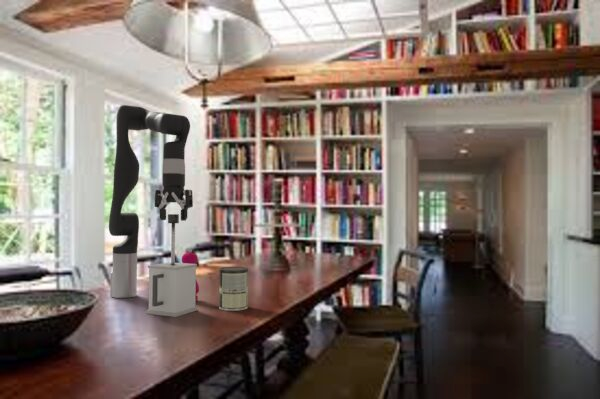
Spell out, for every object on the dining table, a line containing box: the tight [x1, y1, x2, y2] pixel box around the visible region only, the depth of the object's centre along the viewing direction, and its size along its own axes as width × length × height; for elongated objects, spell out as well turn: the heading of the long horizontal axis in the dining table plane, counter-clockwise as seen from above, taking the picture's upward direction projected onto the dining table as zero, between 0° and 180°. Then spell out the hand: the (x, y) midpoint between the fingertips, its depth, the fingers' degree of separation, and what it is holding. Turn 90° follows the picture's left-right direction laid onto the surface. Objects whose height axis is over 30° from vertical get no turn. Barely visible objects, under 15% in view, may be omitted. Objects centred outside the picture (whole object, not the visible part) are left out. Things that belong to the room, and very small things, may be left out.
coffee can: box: [218, 266, 249, 312], centre depth 182 cm, size 10×10×14 cm
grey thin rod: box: [167, 213, 180, 265], centre depth 175 cm, size 9×9×22 cm
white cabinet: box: [146, 261, 198, 318], centre depth 173 cm, size 12×16×16 cm
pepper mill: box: [181, 248, 200, 303], centre depth 195 cm, size 7×7×20 cm
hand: (173, 220), depth 175 cm, fingers open, 8 cm apart
